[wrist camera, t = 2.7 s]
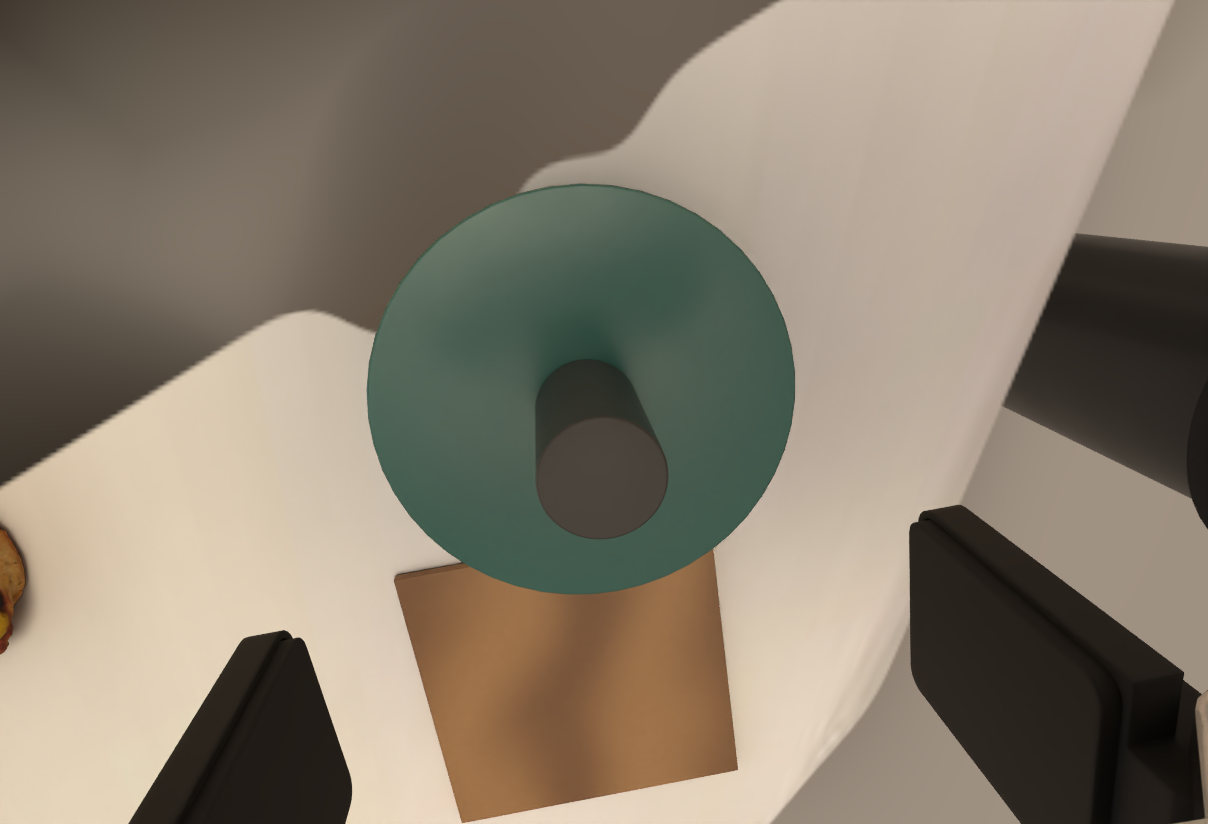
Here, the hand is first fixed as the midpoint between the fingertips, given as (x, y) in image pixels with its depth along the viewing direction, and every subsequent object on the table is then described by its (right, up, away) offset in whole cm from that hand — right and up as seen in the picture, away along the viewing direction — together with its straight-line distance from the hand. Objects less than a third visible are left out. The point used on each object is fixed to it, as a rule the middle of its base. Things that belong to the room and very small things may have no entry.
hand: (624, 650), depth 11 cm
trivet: (-2, -10, +25) cm, 27 cm away
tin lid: (-1, +4, +12) cm, 13 cm away
